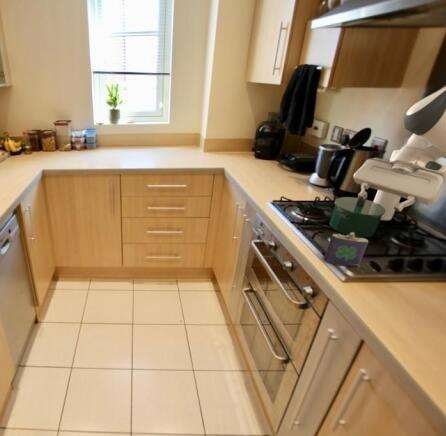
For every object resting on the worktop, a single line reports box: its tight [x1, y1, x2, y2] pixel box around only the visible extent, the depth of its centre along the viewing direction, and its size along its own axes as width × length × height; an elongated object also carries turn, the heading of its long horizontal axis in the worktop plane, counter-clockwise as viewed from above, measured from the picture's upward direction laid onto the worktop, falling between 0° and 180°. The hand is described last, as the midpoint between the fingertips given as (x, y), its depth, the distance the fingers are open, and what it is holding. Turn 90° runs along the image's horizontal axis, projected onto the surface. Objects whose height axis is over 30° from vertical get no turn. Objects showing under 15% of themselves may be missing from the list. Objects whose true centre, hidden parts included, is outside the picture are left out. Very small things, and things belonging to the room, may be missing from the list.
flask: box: [323, 232, 369, 268], centre depth 93 cm, size 9×3×11 cm, turn 68°
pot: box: [329, 203, 382, 238], centre depth 113 cm, size 14×19×8 cm
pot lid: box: [334, 195, 385, 216], centre depth 110 cm, size 15×15×5 cm
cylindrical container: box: [372, 149, 402, 221], centre depth 116 cm, size 7×7×25 cm
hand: (378, 203), depth 91 cm, fingers open, 8 cm apart
